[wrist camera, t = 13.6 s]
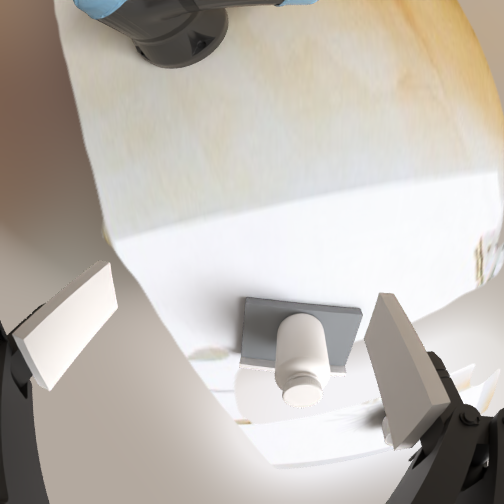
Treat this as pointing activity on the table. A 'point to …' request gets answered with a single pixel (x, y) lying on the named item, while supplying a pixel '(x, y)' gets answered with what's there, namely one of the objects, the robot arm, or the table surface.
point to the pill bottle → (301, 360)
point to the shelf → (274, 312)
